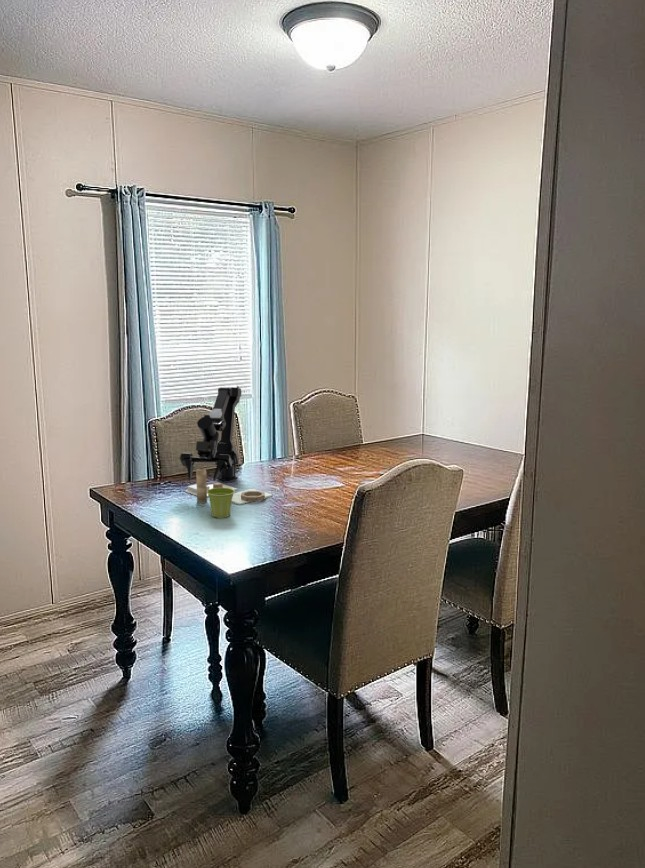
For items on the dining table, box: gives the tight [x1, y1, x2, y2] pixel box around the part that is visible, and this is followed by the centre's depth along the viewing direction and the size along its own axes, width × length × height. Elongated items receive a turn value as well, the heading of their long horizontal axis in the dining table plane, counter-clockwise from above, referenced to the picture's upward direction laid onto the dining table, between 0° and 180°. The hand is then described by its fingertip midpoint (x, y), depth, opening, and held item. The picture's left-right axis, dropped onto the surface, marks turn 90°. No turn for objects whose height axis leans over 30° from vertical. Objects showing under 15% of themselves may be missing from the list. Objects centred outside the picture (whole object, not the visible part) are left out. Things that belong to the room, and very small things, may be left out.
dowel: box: [195, 468, 208, 504], centre depth 245 cm, size 4×4×12 cm
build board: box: [231, 488, 273, 506], centre depth 251 cm, size 16×14×2 cm
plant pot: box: [207, 488, 236, 519], centre depth 230 cm, size 9×9×9 cm
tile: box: [185, 482, 239, 498], centre depth 260 cm, size 16×12×4 cm
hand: (201, 479), depth 245 cm, fingers open, 9 cm apart
